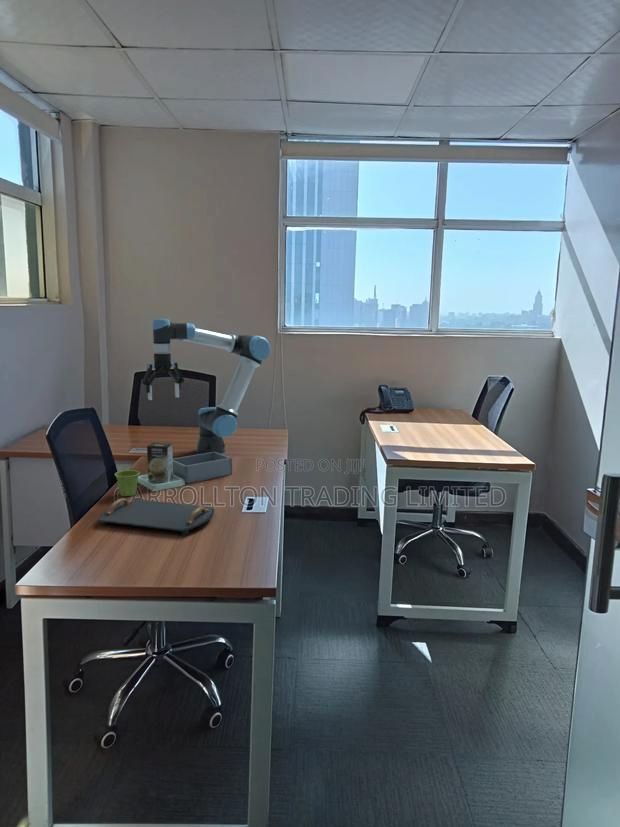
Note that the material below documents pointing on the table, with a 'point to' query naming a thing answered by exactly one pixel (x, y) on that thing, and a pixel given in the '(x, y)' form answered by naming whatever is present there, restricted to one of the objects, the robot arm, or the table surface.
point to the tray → (161, 486)
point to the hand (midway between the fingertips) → (163, 398)
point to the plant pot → (127, 482)
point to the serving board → (156, 514)
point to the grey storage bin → (202, 466)
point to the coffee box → (160, 462)
